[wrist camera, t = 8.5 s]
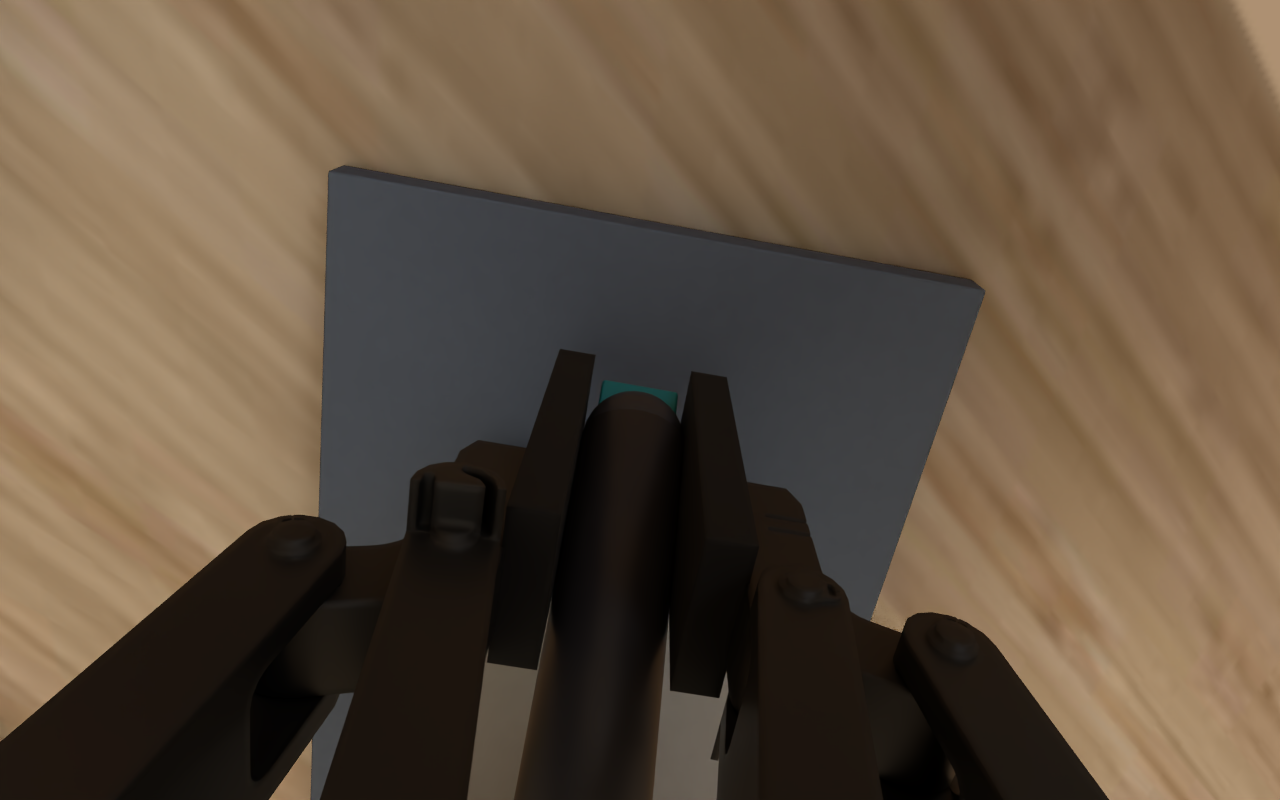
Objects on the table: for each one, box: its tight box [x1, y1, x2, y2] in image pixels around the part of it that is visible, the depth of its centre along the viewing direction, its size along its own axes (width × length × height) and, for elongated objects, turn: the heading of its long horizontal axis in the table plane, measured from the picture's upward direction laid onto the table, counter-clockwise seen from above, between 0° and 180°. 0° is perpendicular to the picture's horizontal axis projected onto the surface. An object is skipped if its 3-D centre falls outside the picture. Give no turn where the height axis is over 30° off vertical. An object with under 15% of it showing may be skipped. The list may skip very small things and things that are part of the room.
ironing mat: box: [311, 165, 985, 800], centre depth 26 cm, size 16×26×1 cm, turn 170°
